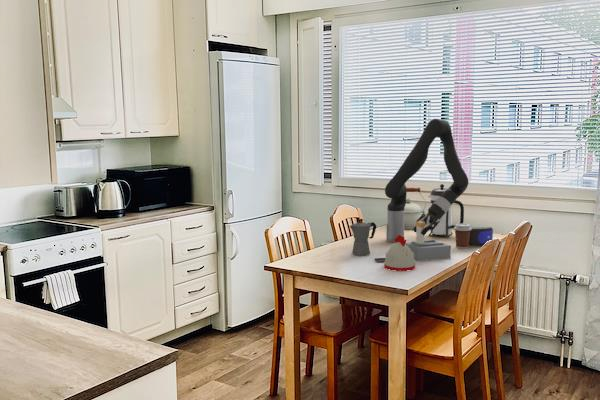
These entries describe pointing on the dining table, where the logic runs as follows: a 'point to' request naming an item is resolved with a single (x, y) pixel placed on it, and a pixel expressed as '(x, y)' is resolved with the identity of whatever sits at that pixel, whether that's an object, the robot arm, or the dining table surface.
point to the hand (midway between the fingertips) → (418, 232)
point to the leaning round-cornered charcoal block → (480, 236)
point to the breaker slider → (419, 233)
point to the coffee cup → (462, 235)
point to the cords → (380, 259)
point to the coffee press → (445, 215)
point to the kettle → (412, 211)
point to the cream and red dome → (399, 256)
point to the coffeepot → (362, 237)
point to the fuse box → (430, 250)
